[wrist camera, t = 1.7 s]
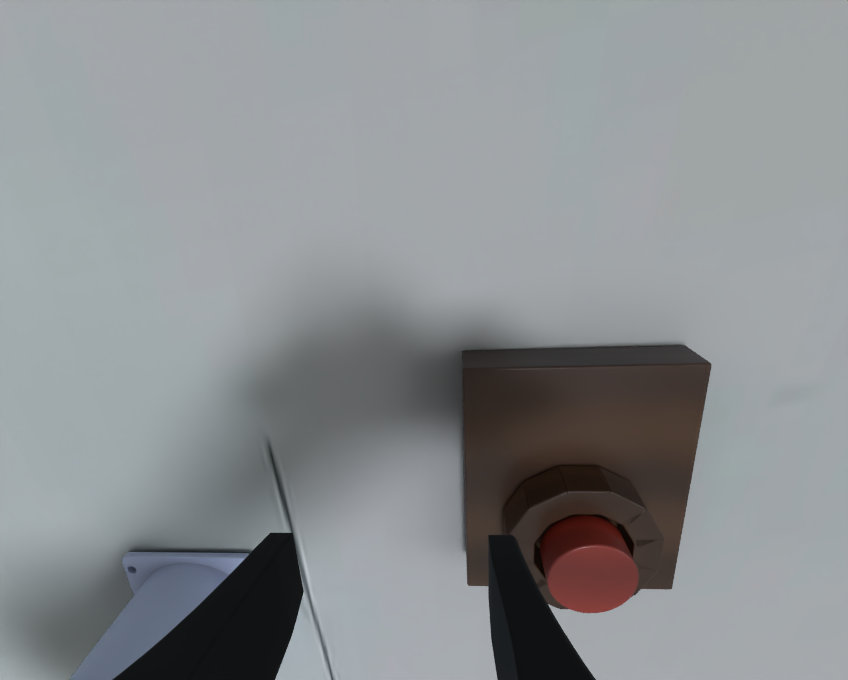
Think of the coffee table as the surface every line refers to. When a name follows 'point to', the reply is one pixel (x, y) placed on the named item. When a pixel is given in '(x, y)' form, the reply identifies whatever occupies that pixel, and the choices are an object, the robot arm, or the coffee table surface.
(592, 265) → the coffee table surface
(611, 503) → the switch block
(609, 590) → the button
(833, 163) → the coffee table surface
